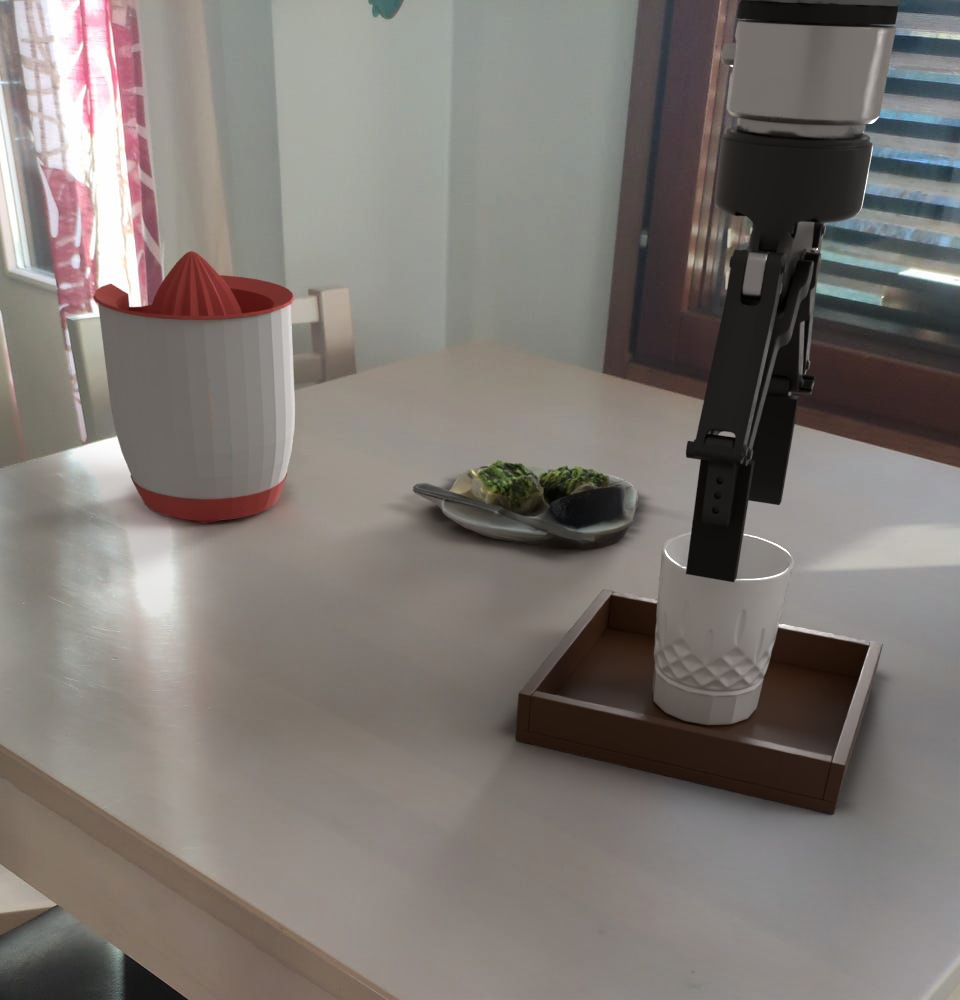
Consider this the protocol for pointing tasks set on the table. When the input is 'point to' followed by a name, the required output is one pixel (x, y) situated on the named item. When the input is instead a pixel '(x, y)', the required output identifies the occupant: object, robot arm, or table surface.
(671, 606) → the white cup
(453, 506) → the salad plate
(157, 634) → the table surface
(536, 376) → the table surface
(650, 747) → the tray
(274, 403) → the citrus juicer
